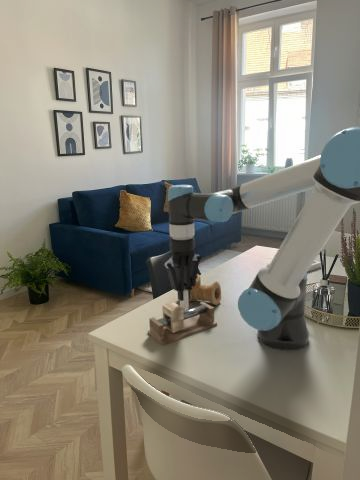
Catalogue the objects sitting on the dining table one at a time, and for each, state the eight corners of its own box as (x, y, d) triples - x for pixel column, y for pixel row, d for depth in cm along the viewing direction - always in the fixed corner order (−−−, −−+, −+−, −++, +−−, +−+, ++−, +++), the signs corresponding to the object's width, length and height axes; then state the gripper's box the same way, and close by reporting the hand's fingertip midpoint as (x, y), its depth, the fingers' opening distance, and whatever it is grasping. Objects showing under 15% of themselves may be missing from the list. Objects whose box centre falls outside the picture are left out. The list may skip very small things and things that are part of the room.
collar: (173, 322, 119) (173, 301, 117) (183, 329, 114) (183, 308, 112) (163, 325, 116) (162, 304, 115) (172, 333, 112) (172, 311, 110)
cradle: (200, 314, 127) (200, 300, 125) (217, 325, 120) (217, 309, 118) (147, 332, 116) (147, 316, 114) (162, 345, 108) (161, 328, 107)
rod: (202, 310, 123) (202, 303, 122) (207, 313, 120) (207, 306, 120) (156, 326, 113) (156, 318, 112) (160, 329, 111) (160, 321, 110)
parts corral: (320, 267, 172) (321, 262, 171) (298, 274, 163) (299, 269, 163) (293, 259, 184) (293, 254, 184) (272, 265, 176) (272, 260, 175)
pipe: (216, 309, 131) (216, 283, 128) (174, 304, 136) (173, 278, 133) (222, 299, 139) (222, 275, 136) (182, 294, 144) (182, 270, 142)
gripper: (191, 231, 116) (193, 299, 122) (157, 238, 109) (160, 310, 115) (206, 235, 110) (207, 307, 116) (171, 242, 103) (174, 318, 109)
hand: (184, 308), depth 115 cm, fingers closed
